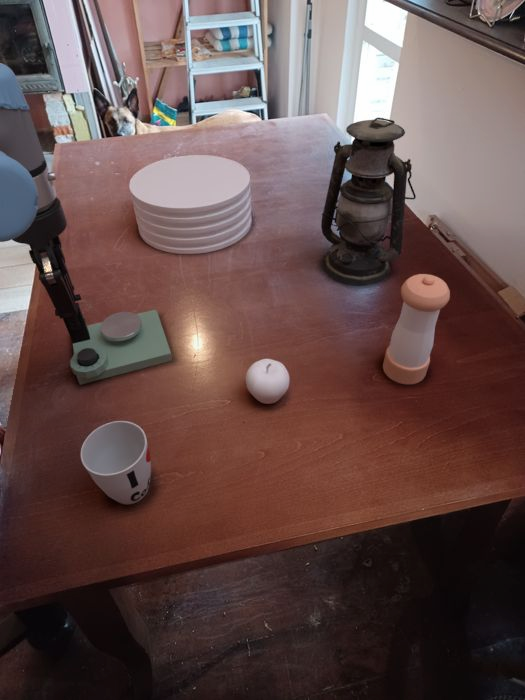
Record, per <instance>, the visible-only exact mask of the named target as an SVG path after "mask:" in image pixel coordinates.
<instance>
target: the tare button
mask: <svg viewBox="0 0 525 700" xmlns="http://www.w3.org/2000/svg"><path fill="white" fill-rule="evenodd" d="M77 358H78V360H79V363H80V364H81V365H82V366H85V367H88V366H92V365H94V364H95V363H96V362H97V360H98V357H97V354H96V351H95V350H94V349H92V348H85V349H83V350H81V351H80V352H79V353H78V355H77Z"/></svg>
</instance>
